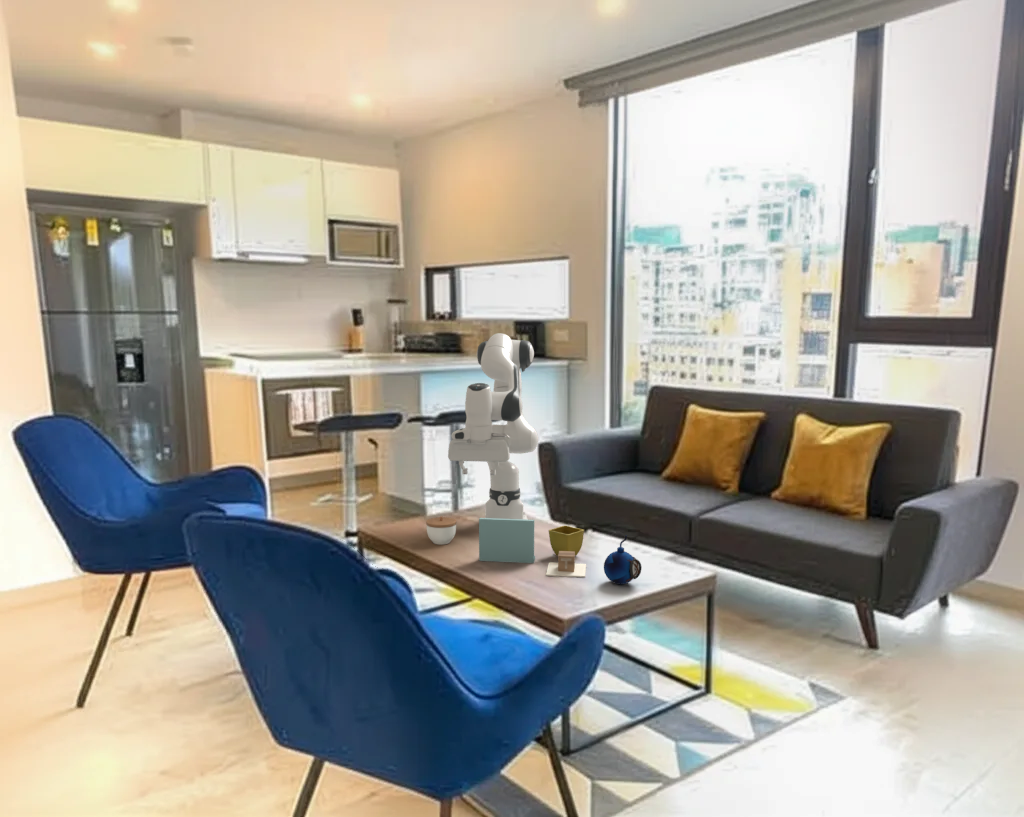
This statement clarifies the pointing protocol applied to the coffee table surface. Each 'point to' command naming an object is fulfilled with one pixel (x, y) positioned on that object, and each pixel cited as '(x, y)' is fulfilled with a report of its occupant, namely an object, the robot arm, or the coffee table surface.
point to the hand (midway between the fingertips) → (479, 474)
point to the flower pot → (566, 539)
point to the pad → (578, 572)
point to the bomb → (621, 566)
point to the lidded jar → (441, 529)
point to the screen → (506, 540)
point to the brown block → (566, 561)
